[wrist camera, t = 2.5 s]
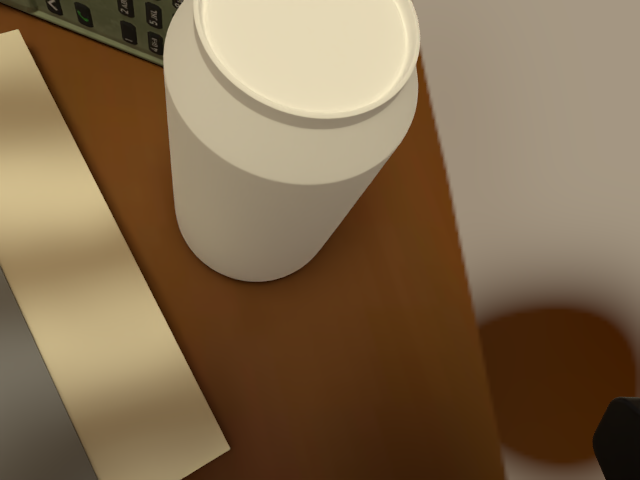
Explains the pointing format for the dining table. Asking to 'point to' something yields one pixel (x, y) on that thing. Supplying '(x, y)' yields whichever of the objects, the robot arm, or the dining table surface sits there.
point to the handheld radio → (111, 21)
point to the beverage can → (282, 121)
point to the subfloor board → (80, 317)
